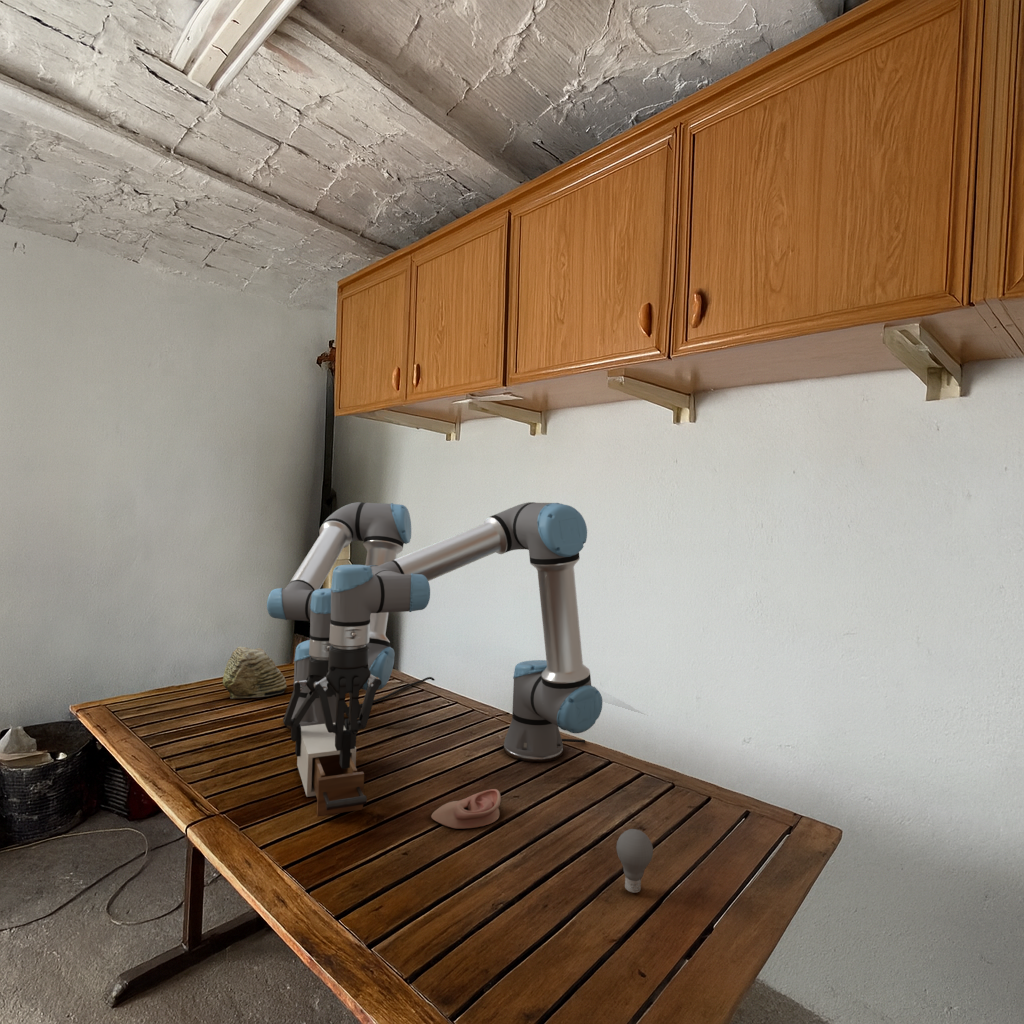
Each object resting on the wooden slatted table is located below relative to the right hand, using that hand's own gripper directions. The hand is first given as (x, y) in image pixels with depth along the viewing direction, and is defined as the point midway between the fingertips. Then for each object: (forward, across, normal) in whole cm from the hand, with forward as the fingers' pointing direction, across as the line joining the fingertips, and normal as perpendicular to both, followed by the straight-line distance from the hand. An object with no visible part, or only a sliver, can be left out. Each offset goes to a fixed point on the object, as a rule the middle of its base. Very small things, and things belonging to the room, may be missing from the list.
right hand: (344, 765), depth 123 cm
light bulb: (+11, +41, -39) cm, 57 cm away
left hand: (+7, 0, +26) cm, 27 cm away
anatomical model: (+11, +24, -6) cm, 27 cm away
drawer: (+10, 0, +7) cm, 13 cm away
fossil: (+11, -11, +88) cm, 89 cm away
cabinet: (+11, 0, +22) cm, 25 cm away
